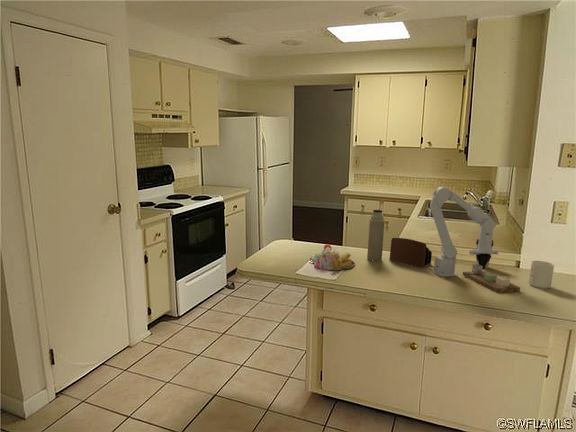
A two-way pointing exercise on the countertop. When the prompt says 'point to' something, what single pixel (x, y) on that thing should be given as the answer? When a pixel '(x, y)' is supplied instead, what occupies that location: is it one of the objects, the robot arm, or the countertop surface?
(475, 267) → the slider knob
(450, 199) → the robot arm
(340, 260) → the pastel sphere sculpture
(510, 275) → the countertop surface
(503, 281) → the beige cube
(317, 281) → the countertop surface
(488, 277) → the sage green cube
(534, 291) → the countertop surface
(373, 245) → the thermos bottle
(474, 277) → the brown flat board
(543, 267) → the mug
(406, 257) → the letter holder
